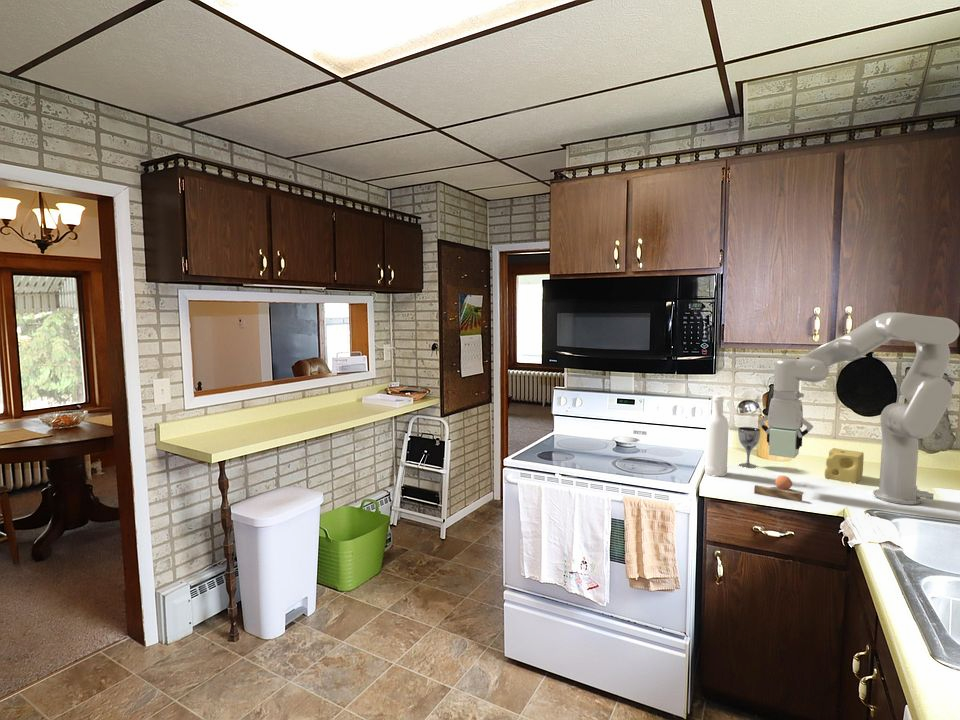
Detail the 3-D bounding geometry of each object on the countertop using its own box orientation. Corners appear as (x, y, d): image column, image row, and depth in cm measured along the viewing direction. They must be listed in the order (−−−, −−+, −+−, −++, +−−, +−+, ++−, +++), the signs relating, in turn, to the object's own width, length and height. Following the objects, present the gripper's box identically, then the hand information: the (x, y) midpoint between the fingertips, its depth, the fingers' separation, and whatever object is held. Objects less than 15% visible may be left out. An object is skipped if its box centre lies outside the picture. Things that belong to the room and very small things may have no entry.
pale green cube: (798, 453, 189) (799, 428, 188) (794, 458, 183) (795, 432, 182) (773, 450, 194) (774, 425, 193) (768, 454, 188) (769, 429, 187)
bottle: (704, 469, 215) (706, 394, 213) (726, 471, 213) (728, 394, 210) (704, 475, 208) (707, 397, 205) (727, 477, 205) (730, 398, 203)
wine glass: (756, 469, 215) (758, 432, 214) (735, 466, 220) (736, 429, 219) (760, 465, 221) (762, 428, 220) (739, 462, 226) (740, 426, 225)
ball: (789, 485, 186) (791, 494, 189) (792, 474, 189) (793, 482, 192) (773, 483, 189) (774, 491, 192) (775, 471, 192) (777, 480, 195)
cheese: (824, 478, 204) (825, 452, 203) (831, 472, 211) (832, 446, 210) (857, 484, 196) (859, 457, 195) (864, 478, 204) (865, 451, 203)
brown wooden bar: (802, 500, 180) (802, 493, 180) (801, 502, 179) (801, 494, 178) (755, 492, 189) (755, 485, 188) (754, 493, 187) (754, 486, 187)
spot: (799, 490, 190) (799, 490, 190) (794, 497, 183) (794, 497, 183) (770, 485, 195) (770, 485, 195) (764, 492, 188) (764, 491, 188)
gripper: (817, 396, 184) (815, 448, 185) (760, 392, 195) (758, 440, 196) (814, 399, 178) (811, 452, 179) (755, 394, 189) (753, 445, 190)
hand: (783, 446), depth 188 cm, fingers closed on pale green cube, 7 cm apart
